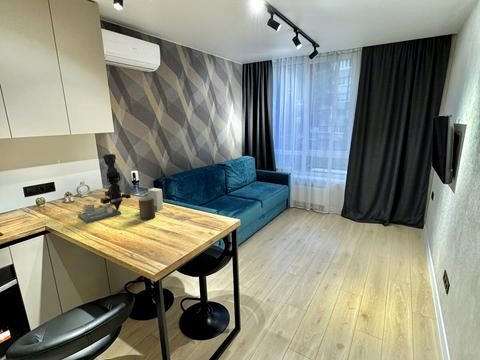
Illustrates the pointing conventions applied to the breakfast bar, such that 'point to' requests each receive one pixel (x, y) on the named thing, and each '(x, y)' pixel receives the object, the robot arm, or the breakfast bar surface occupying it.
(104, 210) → the fader
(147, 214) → the pillar candle
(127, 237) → the breakfast bar surface
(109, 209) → the fader
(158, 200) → the skincare box
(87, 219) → the console
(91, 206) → the dial
